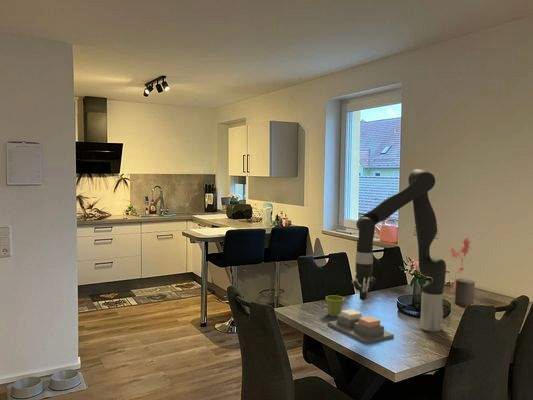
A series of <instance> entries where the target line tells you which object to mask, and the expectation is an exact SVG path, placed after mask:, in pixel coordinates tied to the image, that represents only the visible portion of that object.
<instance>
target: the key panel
mask: <svg viewBox="0 0 533 400" xmlns="http://www.w3.org/2000/svg"><path fill="white" fill-rule="evenodd" d="M358 321H359V319H354V320H349V319H346V318H344V317H342V316H341V314H340V315H337V316H336V320H332V321H327V326H328V327H330V328H332V329H335V330H336V331H338V332H340V333H342V334H345V335H346V336H349V337H351V338H353V339H355V340H357V341H359V342H361V343H363V344H365V345H368V344H372V343H377V342H382V341H385V340H386V341H387V340H391V339H394V338H395V337H394V335H395V334H393V333H391V332H388V331H386V330H385V326H384V325H382V324H380V326H378V327H373V328H367V327H364V326H362V325H360V324H358Z"/></svg>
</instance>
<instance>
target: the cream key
mask: <svg viewBox="0 0 533 400" xmlns="http://www.w3.org/2000/svg"><path fill="white" fill-rule="evenodd" d="M340 315H341V316H342V317H344V318H346V319H349V320H354V319H359V318H361V317H362V312H359V311H357V310H356V309H345V310H341V314H340Z"/></svg>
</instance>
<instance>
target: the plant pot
mask: <svg viewBox="0 0 533 400" xmlns="http://www.w3.org/2000/svg"><path fill="white" fill-rule="evenodd" d="M325 300H326V302H327V304H326V305H327V314H328V316H331V317H337V315H341V311H342V308H343V303H344V301H345V297H343V296H340V295H332V294H331V295H327V296H325Z"/></svg>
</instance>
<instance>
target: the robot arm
mask: <svg viewBox="0 0 533 400" xmlns="http://www.w3.org/2000/svg"><path fill="white" fill-rule="evenodd" d="M435 184H436V178H435V176H434V174H433V173H431V172H429V171H428V170H427V171H426V170H424V169H421V168H420V169H419V168H416V169H413V170H412V171H411V172H410V174H409V175H408V186H407V187H405V188H404V189H403V190H401V191H399V192H397V193H395V194H393V195H392V196H389V197H387V198H386V199H383V201H381V202H380V203H379V204H377V205H376V206H375V207H374V208H373V209H372V210H370V211H368V212H367V213H365V214H363V215H361V216H360V217H359V218H358V219H357V221H356V228H357V230H358V239H357V241H356V253H355V278H354V279H351V280H350V283H351V284H352V286H353V287H354V289H355V290H356V291H357V292H359V300H360V301H366V300H367V296H368V295H367V292H368V291H371V290H372V288H373V286H374V285H375V283H376V282H377V279H376V278H374V277H373V274H372V273H373V269H374V268H373V266H374V264H373V263H374V254H373V253H374V251H373V250H374V238H375V230H376V228H375V227H376V225H377V224H379V223H381V222H384V221H385V220H387V219H388V218H390V217H391V216H392V215H393V214H395V213H396V212H397V211H399V210H400V209H401V208H403V207H404V206H405V205H407V204H409V203H411V202H412V206H413V216H414V224H415V231H416V239H417V248H418V269H419V270H418V271H419V272H420V274H421V276H423V277H427V278H432V281H431V283H424V284H423V285H422V286H421V302H420V304H421V305H420V318H419V319H420V322H419V323H420V324H419V327H420V329H422V330H424V331H428V332H432V333H433V332H436V333H437V332H441V331H442V330H443V323H444V322H443V321H444V308H443V300H444V299H443V298H444V297H443V296H444V290H445V289H444V288H445V285H446V284H445V283H446V273H447V264H446V261H445V260H444V259H442V258H437V257H431V254H430V253H431V252H430V250H431V249H430V247H431V246H432V243H433V241H434V239H435V238H436V237H437V233H438V221H437V216H436V213H435V210H434V208H433V206H432V204H431V201H430V199H429V192H430V191H431V190H433V188H434V187H435V186H436V185H435Z"/></svg>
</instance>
